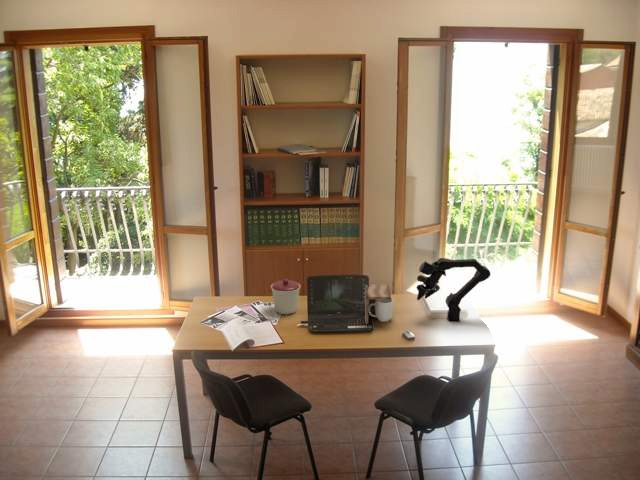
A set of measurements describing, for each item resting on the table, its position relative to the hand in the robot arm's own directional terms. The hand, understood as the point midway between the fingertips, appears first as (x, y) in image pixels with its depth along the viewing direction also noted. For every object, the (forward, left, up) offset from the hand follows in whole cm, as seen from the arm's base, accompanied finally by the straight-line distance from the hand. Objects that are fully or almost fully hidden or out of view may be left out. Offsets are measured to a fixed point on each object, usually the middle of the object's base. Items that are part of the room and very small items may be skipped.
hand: (421, 299), depth 361 cm
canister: (+81, -6, -12) cm, 83 cm away
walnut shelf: (+26, +4, -12) cm, 29 cm away
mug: (+23, +4, -12) cm, 27 cm away
